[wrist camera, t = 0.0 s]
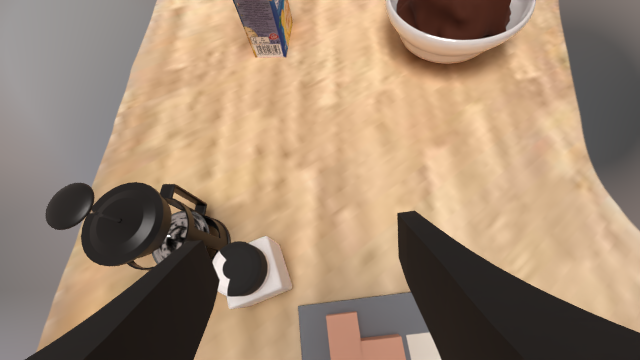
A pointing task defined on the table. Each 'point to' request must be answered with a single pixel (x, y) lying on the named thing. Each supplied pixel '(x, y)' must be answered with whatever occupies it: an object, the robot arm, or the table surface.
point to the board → (369, 325)
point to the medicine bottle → (251, 272)
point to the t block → (360, 341)
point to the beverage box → (266, 25)
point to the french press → (133, 222)
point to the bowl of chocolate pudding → (456, 26)
